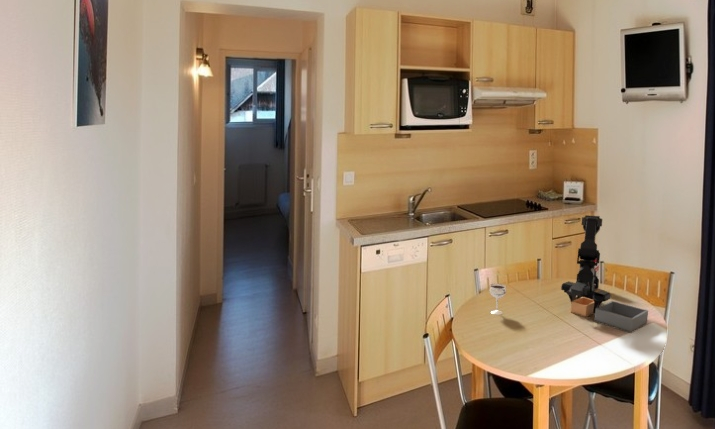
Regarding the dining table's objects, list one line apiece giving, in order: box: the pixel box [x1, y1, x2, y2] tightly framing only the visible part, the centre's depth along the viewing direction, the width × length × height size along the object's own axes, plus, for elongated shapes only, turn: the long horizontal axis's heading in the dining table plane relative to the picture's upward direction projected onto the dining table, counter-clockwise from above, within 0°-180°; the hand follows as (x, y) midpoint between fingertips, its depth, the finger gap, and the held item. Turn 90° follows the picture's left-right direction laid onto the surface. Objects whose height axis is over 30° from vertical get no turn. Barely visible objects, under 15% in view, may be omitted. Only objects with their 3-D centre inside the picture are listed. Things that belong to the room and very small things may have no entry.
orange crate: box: [570, 297, 594, 318], centre depth 195 cm, size 6×9×5 cm
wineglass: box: [489, 283, 507, 316], centre depth 196 cm, size 7×7×12 cm
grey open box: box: [594, 300, 649, 334], centre depth 184 cm, size 14×14×6 cm
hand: (583, 309), depth 195 cm, fingers open, 9 cm apart
